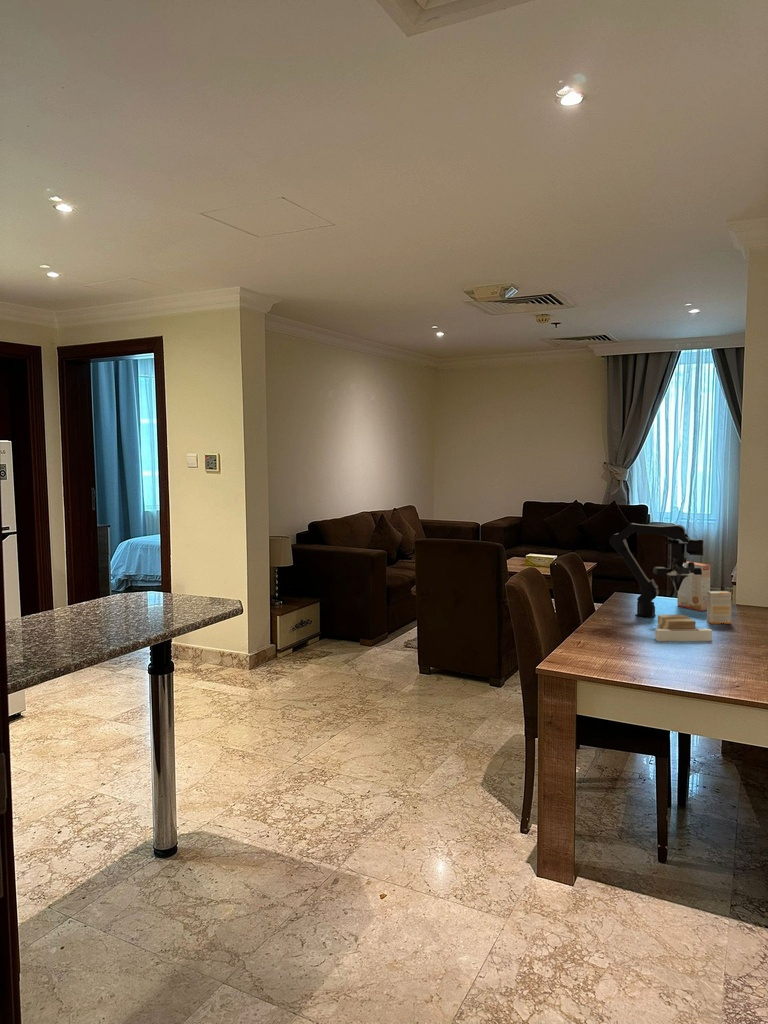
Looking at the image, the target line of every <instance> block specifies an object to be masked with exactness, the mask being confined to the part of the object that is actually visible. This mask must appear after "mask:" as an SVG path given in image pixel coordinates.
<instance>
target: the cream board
mask: <svg viewBox="0 0 768 1024" xmlns="http://www.w3.org/2000/svg"><path fill="white" fill-rule="evenodd" d="M654 634H655V635H654V636H655V637H654V640H655V639H656V640H655V641H657V640H658V641H657V642H712V641H713V630H712V629H710V628H696V627H695V628H668V629H658V628H655V629H654Z"/></svg>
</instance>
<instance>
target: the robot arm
mask: <svg viewBox="0 0 768 1024" xmlns="http://www.w3.org/2000/svg"><path fill="white" fill-rule="evenodd" d="M633 533H636V534H637V533H638V534H647V535H657V536H664V537H666V538H668V540H667V541H665V544H666V545H670V546H669V547H670V548H669V549H670V555H669V558H668V559H670V560H669V561H670V562H669V563H670V564H669V565H668V567H669V568H666V567H664V566H654V567H653V568H652V574H654V575H657V576H667V577H669V578H670V580H671V582H672V585H673V588H674V591H676V592H678V591H679V588H680V586H681V583H682V581H683V579H684V578H685V577H688V575H687V574H689V573H693V574H694V575H702V569H701V568H699V567H694V563H693V562H694V561H688V562H689V563H687V562H686V561H687V558H686V554H688V555H689V556H699V557H700V556H704V555H705V544H704V543H705V542H704V541H705V539H701V538H699V539H691V538H690V536H688V534H687V530H686V528H685V527H684V526H683V525H681V524H671V525H654V524H653V525H651V524H643V523H642V524H640V523H635V522H631V523H629V524H628V525H627V526H626V527H625V528H624V529H622V530H621V531H620V532H617V533H614V534H611V536H610V537H609V545H610V546H611V547H612V548H613V549H614V550H615V551H616V552H617V553H618V554H619V555H620V556H621V557H622V558H623V560H624V562H625V564H626V565H627V567H628V568H629V570H630V571H631V573H632V574H633V577H634V578H635V579H636V581H637V582H638V586H639V589H640V591H641V594H640V595H639V596H638V597H637V598H636V600H637V604H636V607H637V608H636V614H635V615H634V616H636V617H642V618H649V619H650V618H652V617H656V606H655V602H654V599H656V597H658V595H659V593H660V592H659V591H660V590H659V586H658V585H657V583H656V581H655V580H654V578H652V579H650V578H648V577H647V575H646V574H645V572H644V571H643V569H642V568H641V566H640V564H639V563H638V561H637V559H636V558H635V556H634V555H633V554H632V552H631V550H630V548H629V545H628V542H627V538H629V537H630V536H631V535H633Z"/></svg>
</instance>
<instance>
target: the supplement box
mask: <svg viewBox="0 0 768 1024" xmlns="http://www.w3.org/2000/svg"><path fill="white" fill-rule="evenodd" d="M707 621H708V622H707ZM706 622H707V623H709V624H710V623H711V624H710V625H722V624H723V623H724V624H723V625H726V624H727V625H729V624H730V625H732V592H730V591H729V590H710V591H707V611H706ZM721 623H722V624H721Z"/></svg>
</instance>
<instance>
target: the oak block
mask: <svg viewBox="0 0 768 1024" xmlns="http://www.w3.org/2000/svg"><path fill="white" fill-rule="evenodd" d="M696 625H697V624H696V620H694V619H692V618H691V617H689V616H687V615H685V614H657V629H668V628H696Z"/></svg>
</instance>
